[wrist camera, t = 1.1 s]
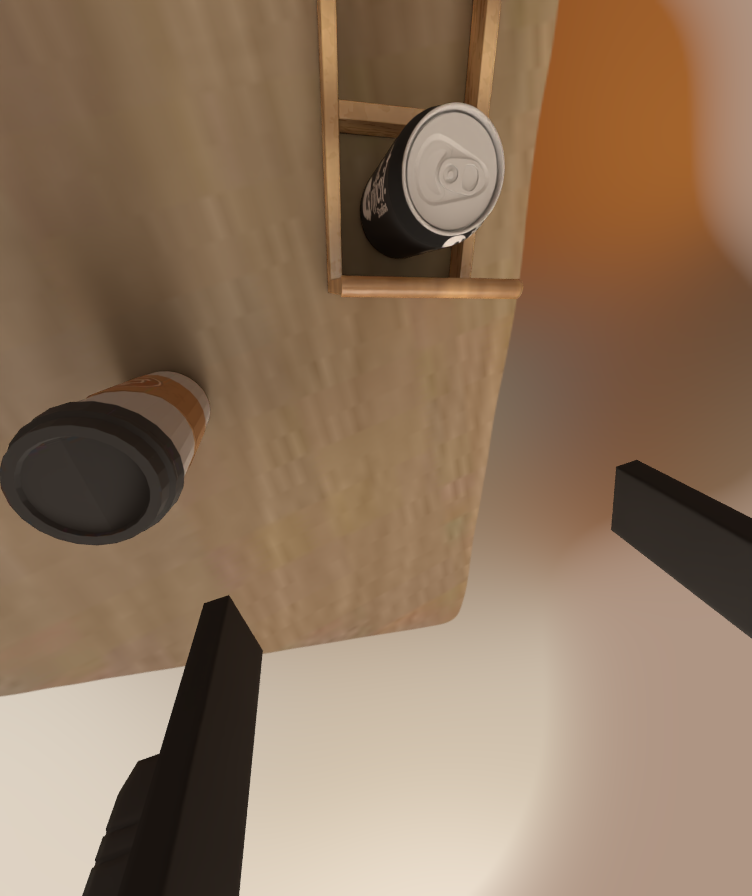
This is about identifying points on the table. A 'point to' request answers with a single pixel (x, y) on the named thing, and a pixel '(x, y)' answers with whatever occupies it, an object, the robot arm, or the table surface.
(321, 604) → the table surface
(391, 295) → the rack
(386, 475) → the table surface
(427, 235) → the beverage can
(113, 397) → the coffee cup
